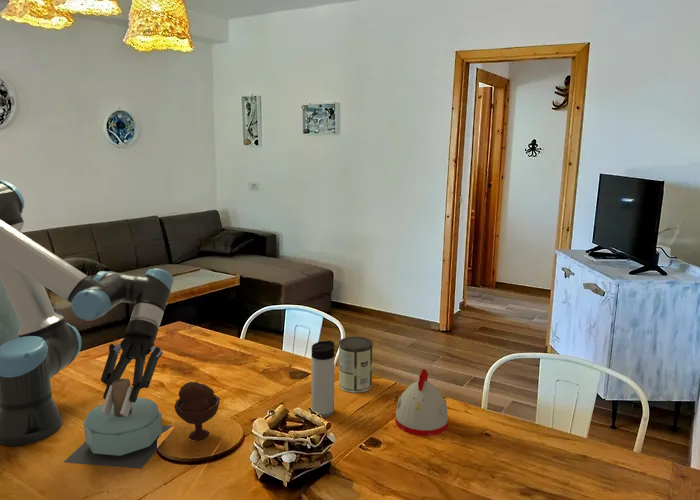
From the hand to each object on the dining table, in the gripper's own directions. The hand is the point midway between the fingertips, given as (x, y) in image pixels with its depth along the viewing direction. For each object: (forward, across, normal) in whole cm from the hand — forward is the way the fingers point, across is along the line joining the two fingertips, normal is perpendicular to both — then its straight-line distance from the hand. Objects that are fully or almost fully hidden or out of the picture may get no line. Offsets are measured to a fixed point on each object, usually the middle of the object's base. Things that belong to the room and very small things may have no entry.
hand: (114, 414), depth 131 cm
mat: (+5, 0, -10) cm, 11 cm away
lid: (+3, 0, -8) cm, 9 cm away
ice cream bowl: (0, -17, -14) cm, 22 cm away
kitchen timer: (-11, -73, -24) cm, 77 cm away
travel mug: (-12, -46, -26) cm, 54 cm away
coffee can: (-25, -53, -38) cm, 70 cm away
